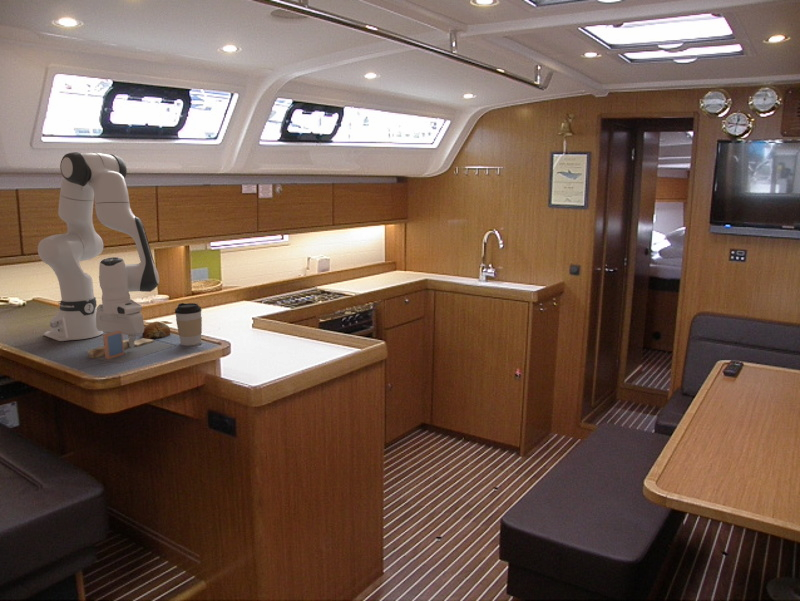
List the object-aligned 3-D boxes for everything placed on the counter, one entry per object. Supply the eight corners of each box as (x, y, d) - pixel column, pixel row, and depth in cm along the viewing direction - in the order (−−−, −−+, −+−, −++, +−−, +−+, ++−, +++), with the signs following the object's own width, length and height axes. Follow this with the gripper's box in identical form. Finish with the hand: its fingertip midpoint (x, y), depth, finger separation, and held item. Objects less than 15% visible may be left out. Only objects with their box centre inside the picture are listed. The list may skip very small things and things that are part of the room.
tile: (105, 358, 211) (102, 335, 210) (121, 353, 216) (118, 330, 215) (108, 359, 210) (106, 335, 209) (124, 354, 216) (121, 331, 214)
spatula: (96, 358, 211) (95, 351, 211) (85, 356, 214) (84, 349, 213) (153, 341, 231) (153, 335, 230) (143, 340, 233) (142, 333, 233)
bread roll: (174, 345, 243) (176, 324, 245) (161, 340, 233) (164, 318, 235) (149, 345, 244) (151, 324, 246) (135, 340, 234) (138, 318, 236)
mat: (87, 360, 214) (87, 357, 213) (144, 343, 233) (144, 340, 233) (119, 366, 206) (119, 363, 206) (176, 348, 226) (176, 345, 225)
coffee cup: (210, 343, 231) (206, 302, 228) (192, 350, 223) (188, 307, 220) (190, 341, 235) (186, 300, 232) (172, 347, 227) (168, 305, 223)
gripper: (88, 305, 221) (93, 344, 224) (129, 310, 212) (134, 350, 214) (104, 302, 227) (109, 340, 229) (145, 306, 217) (149, 346, 220)
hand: (121, 345), depth 222 cm, fingers open, 8 cm apart
